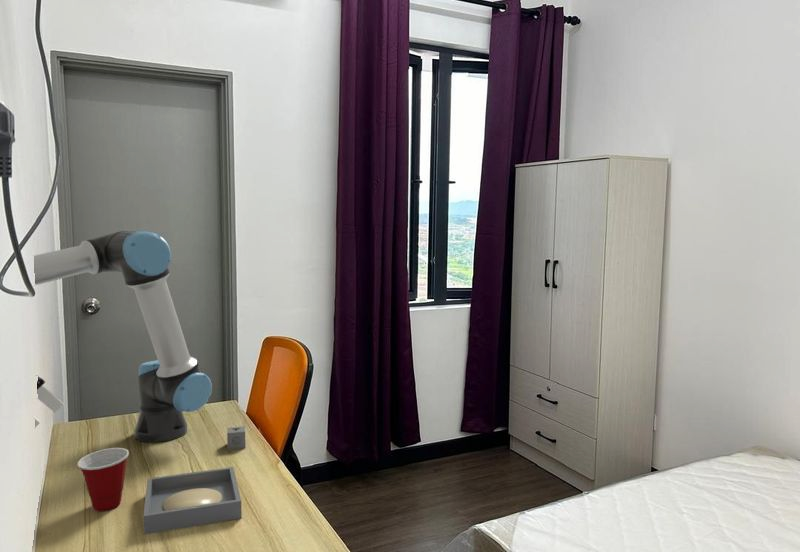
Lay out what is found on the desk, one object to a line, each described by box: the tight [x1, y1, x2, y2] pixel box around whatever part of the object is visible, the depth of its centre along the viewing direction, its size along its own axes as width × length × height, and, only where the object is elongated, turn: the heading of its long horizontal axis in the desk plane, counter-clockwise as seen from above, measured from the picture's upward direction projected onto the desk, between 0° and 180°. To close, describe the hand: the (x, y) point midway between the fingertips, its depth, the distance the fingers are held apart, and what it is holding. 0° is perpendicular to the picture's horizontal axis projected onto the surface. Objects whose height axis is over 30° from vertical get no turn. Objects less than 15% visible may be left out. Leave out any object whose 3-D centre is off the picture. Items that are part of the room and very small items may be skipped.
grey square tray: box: [142, 466, 243, 535], centre depth 141 cm, size 20×20×4 cm
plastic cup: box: [77, 447, 130, 512], centre depth 140 cm, size 11×11×12 cm
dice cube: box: [226, 425, 246, 451], centre depth 178 cm, size 5×5×5 cm
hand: (48, 417), depth 137 cm, fingers open, 13 cm apart
